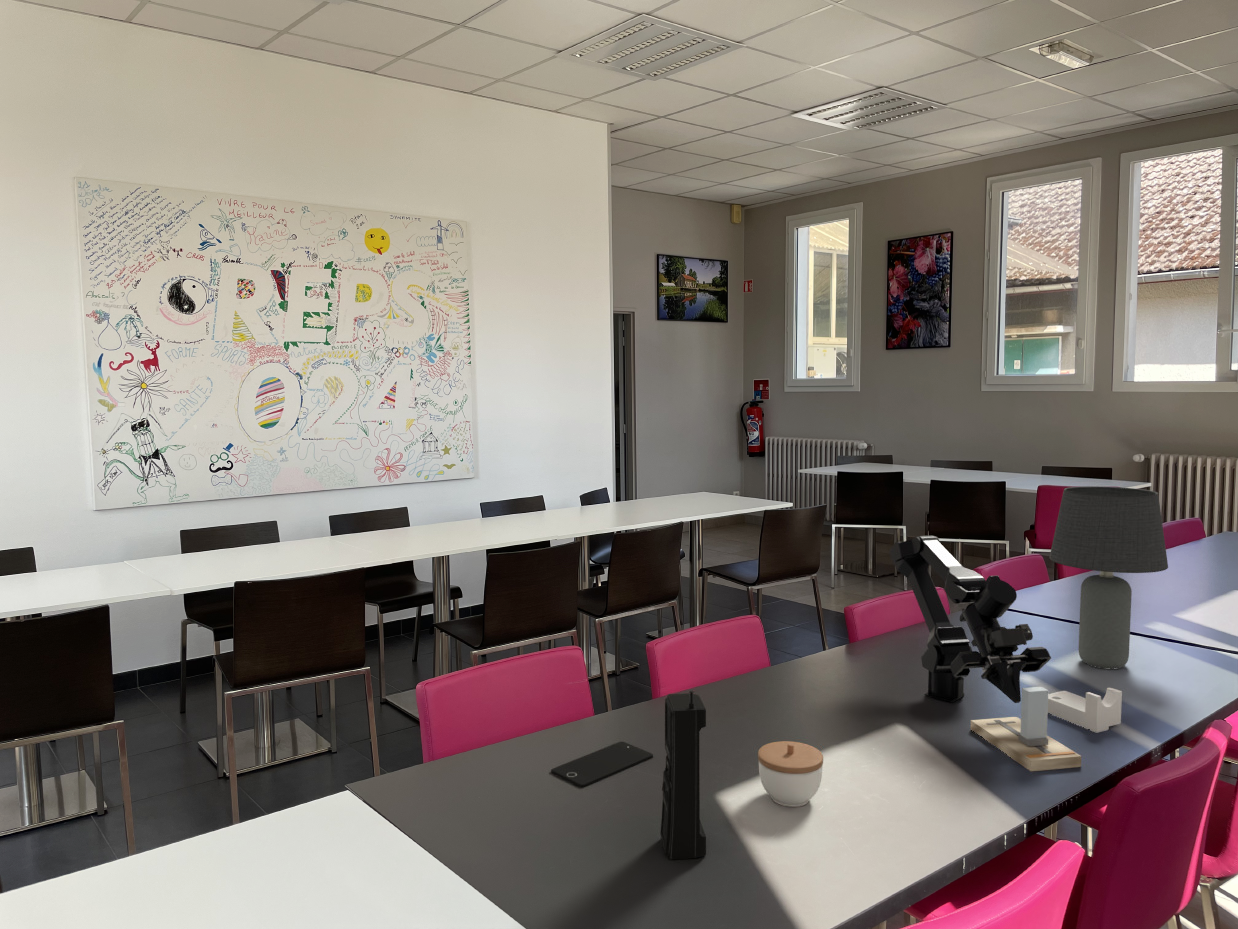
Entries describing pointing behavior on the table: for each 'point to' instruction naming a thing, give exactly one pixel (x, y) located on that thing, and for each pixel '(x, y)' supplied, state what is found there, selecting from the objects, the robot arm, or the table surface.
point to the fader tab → (1034, 716)
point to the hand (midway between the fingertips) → (1017, 702)
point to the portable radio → (682, 777)
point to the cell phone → (601, 764)
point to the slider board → (1031, 757)
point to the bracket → (1087, 709)
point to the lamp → (1108, 561)
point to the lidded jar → (790, 772)
